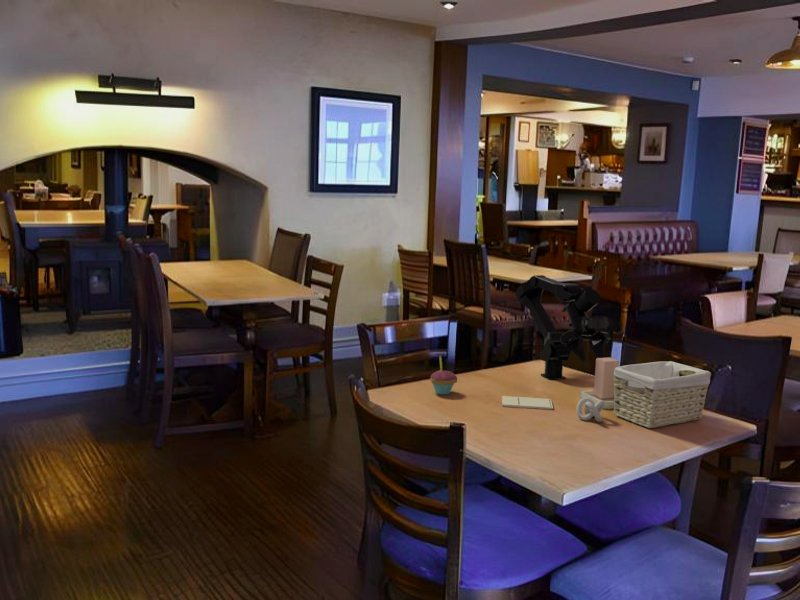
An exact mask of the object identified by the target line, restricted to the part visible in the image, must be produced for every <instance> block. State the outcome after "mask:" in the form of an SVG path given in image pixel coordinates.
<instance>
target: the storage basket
mask: <svg viewBox="0 0 800 600" xmlns="http://www.w3.org/2000/svg"><path fill="white" fill-rule="evenodd" d="M680 374H681V375H682V376H680ZM711 376H712V372H710V371H709V370H703V369H701V368H698V367H695V366H690V365H687V364H682V363H678V362H675V361H672V360H670V361H653V362H646V363H635V364H627V365H625V364H624V365H621V366H618V367H616V368H615V371H614V382H615V383H614V390H615V391H614V408H613V413H614V415H615V416H616V417H620V418H621V419H625V420H626V421H629V422H632V423H633V424H637V425H639V426H643V427H645V428H648V429H655V428H659V427H664V426H669V425H672V424H673V425H676V424H684V423H687V422H693V421H697V420H701V418H702V417H703V410H704V407H705V403H706V398H707V397H706V396H707V392H708V388H709V385H710V383H711Z"/></svg>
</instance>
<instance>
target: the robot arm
mask: <svg viewBox="0 0 800 600" xmlns="http://www.w3.org/2000/svg"><path fill="white" fill-rule="evenodd" d="M544 291H546V292H548V293H551V294H554V295H555V298H557V299H558V300H559V301H560V302H569V303H565V304H564V307H563V308H562V313H567V315H568V319H569V321H570V323H568V327H569V328H571V329H569V330H567V331H566V332H558V331H557V329H556V327H555V326H554V323H553V322H552V321H551V318H550V317H549V315H548V314H547V311H546V309H545V308H544V306H543V304H542V295H543V293H544ZM515 297H516V299H517V301H518V302H519V303H520V304H521V305H522V307H525V308H527V310H528V311H529V312H530V315H531V316H532V318H533V320H534V322H535V324H536V326H537V327H538V330H539V332H540V334H541V335H542V336H543V339H544V340H543V348H542V350H541V351H540V352H539V359H540V361H541V360H542V361H544V373H540V376H541V377H544V378H545V379H547V380H550V381H551V380H564V379H566V378H567V377H566V376H564V375H563V369H564V368H563V363H564V361H565V362H567V361H568V360H569V358H570V355H571V352H572V353H574V354H575V356H576V357H578V358H579V360H581V362H582V363H586V362H587V357H586V353H585V349H584V345H583V342H584V341H586V342H587V341H588V343H589V345H590V348H591V350H592V352H593V353H594V354H595V355H596V357H597V358H606V346H607V344H608V343H609V342H610V340H611V339H612V338H611V336H610V333H609V332H608V331H605V330H607V329H608V327H609V326H610V322H609V320H608V318H607V317H604V316H603V317H599V318H592V317H588V314H587V313H589V312H590V311H591V310H592V309H593V308H594V307H596V306H597V305H598V304H599V303H600V302H601V294H599V292H598V291H596V290H595V289H594V288H592V285H591V286H590V285H588V286H587V285H586V286H585V287H583V288H582V287H581V285H580V284H578V283H566V282H565V283H563V282H560V281H557V280H555V279H553V278H550V277H547V276H546V275H543V274H541V275H539V274H538V275H536V274H535V275H532V276H531V277H530V278H529V279H528V280H526V281H524V282H523V283H521V284H520V285H519V286H518V287H517V288H516V290H515ZM598 330H599V331H598ZM600 330H604V331H600Z"/></svg>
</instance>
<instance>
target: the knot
mask: <svg viewBox="0 0 800 600" xmlns="http://www.w3.org/2000/svg"><path fill="white" fill-rule="evenodd" d="M604 405H605V402H604V401H602V400H601V401H599V402H597V403H596V404H595V403H594V401H593V400H592V399H590V398H582V399H581V398H580V400H579V401H578V402H577V404H576V409H575V410H576V415H577V417H578V419H579V420H581V421H585V422H586V421H589V420H591V419H592V418H593V417H595V419H596V421H597V422H598V423H601V422H603V418H602V416H601V414H600V412H601V411H603V410H604V409H603V407H604ZM583 406H584V407H583ZM582 407H583V408H584V414H585V415H584V414H583V411H582Z"/></svg>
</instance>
